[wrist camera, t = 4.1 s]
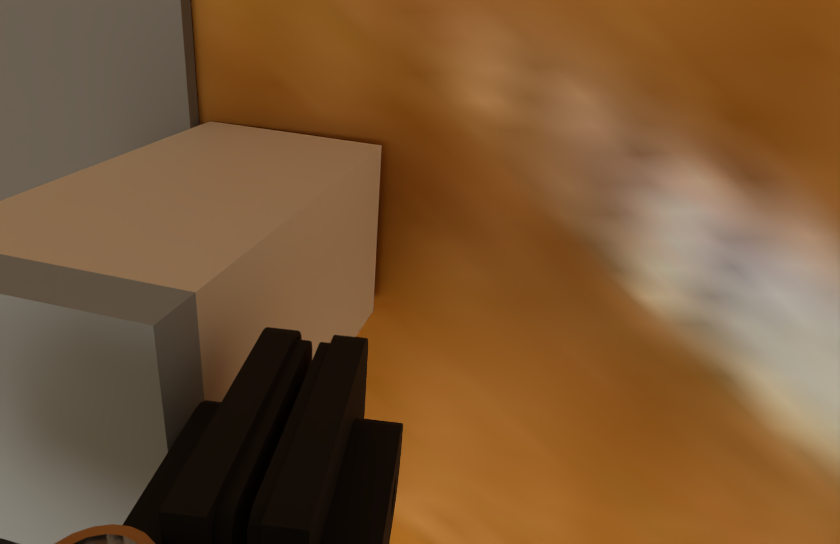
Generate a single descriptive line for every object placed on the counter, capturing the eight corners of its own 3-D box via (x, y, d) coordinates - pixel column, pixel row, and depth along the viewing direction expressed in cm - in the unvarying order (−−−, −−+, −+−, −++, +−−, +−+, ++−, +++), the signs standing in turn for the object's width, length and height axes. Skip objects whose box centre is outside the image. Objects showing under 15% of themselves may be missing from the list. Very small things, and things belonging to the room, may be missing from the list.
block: (381, 145, 17) (152, 326, 8) (373, 310, 19) (184, 592, 11) (209, 121, 18) (-158, 260, 9) (220, 281, 20) (-70, 517, 12)
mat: (184, -84, 16) (173, -85, 15) (219, 410, 22) (213, 421, 22) (-276, -121, 17) (-301, -124, 16) (-112, 370, 23) (-126, 379, 23)
